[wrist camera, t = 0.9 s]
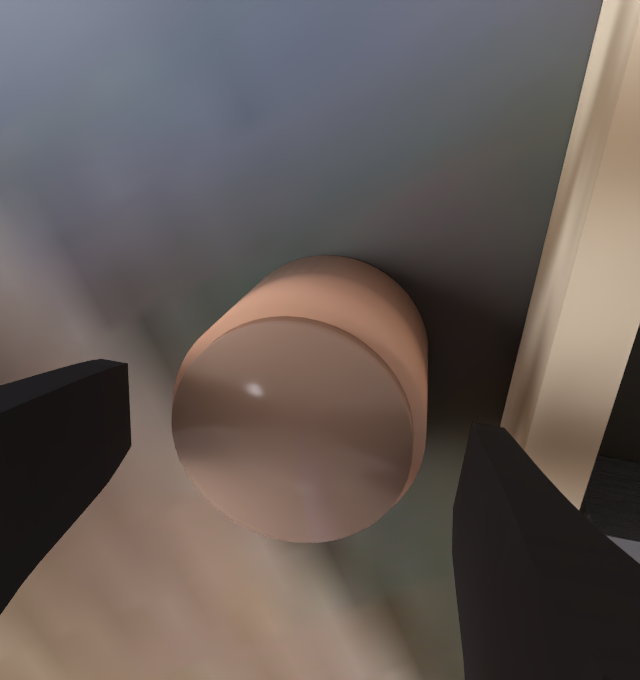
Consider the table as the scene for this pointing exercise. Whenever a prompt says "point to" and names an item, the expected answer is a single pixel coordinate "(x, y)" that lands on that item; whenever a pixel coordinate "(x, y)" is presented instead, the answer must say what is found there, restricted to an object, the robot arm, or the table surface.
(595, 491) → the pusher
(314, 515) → the terracotta jar
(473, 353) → the table surface
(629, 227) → the beige flat open box
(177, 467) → the table surface
